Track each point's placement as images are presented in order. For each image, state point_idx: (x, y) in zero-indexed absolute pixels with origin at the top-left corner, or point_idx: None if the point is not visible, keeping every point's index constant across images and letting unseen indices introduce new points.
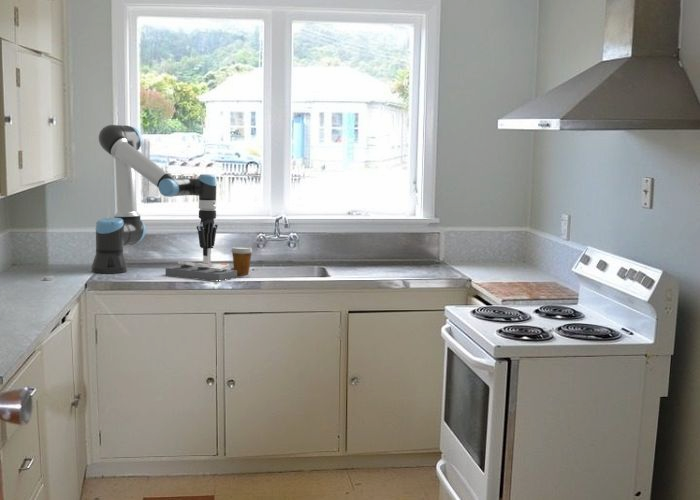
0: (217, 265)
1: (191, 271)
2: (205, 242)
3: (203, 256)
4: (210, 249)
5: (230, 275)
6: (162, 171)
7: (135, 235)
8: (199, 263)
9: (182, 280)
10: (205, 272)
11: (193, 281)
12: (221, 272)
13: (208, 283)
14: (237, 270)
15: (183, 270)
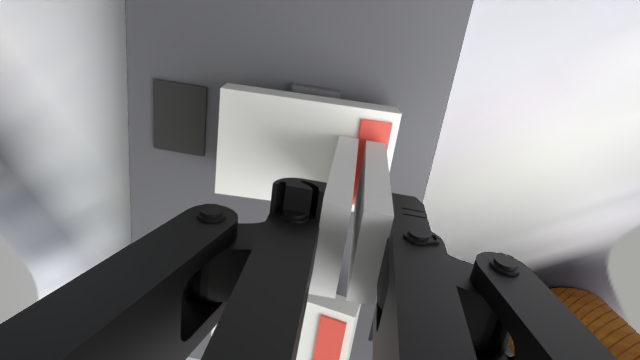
0: None
1: (131, 102)
2: (188, 353)
3: (333, 162)
4: (365, 294)
5: None
6: None
7: None
8: (297, 109)
9: (33, 78)
10: (132, 240)
11: (54, 169)
12: (209, 335)
13: (58, 280)
14: (509, 345)
15: (127, 5)
